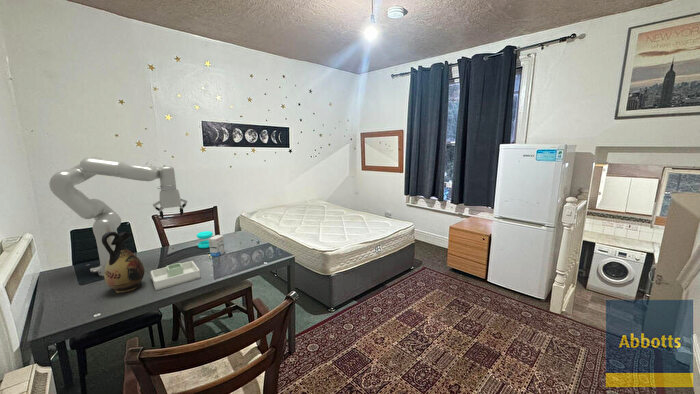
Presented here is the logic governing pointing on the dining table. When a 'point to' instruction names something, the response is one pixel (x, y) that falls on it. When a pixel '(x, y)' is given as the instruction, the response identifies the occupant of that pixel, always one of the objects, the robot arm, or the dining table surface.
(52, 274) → the dining table surface
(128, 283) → the ceramic jug
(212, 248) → the ink box
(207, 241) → the donuts
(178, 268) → the box
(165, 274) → the white shallow tray
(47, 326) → the dining table surface
